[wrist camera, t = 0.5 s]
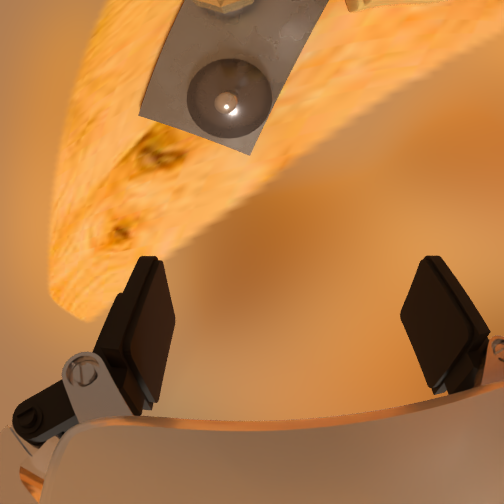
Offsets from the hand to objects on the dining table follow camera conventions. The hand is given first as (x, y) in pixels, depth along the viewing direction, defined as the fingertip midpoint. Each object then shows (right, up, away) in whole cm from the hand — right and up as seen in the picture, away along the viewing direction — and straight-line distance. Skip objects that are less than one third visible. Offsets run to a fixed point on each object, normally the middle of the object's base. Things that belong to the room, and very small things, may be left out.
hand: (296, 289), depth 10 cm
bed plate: (-4, +24, +17) cm, 30 cm away
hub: (-4, +19, +21) cm, 28 cm away
